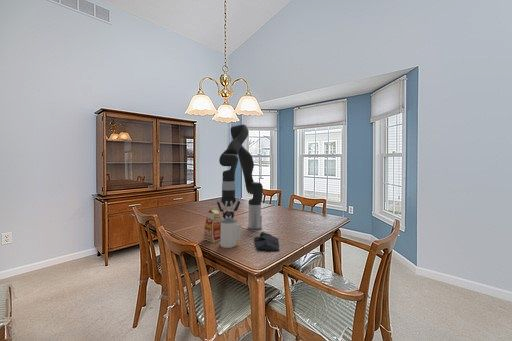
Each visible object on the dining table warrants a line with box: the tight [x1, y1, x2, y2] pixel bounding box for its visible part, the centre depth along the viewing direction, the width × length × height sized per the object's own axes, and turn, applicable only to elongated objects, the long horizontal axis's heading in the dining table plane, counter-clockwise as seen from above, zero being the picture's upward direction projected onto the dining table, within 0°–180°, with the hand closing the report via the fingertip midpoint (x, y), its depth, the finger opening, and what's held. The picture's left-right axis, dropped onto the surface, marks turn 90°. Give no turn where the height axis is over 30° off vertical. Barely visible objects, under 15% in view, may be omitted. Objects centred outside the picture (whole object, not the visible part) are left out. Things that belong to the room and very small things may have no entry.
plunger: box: [225, 209, 232, 220], centre depth 139 cm, size 4×4×16 cm
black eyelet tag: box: [253, 231, 280, 252], centre depth 142 cm, size 15×22×5 cm
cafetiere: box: [219, 216, 242, 249], centre depth 139 cm, size 12×9×15 cm
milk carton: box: [202, 207, 221, 243], centre depth 149 cm, size 9×9×20 cm
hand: (228, 218), depth 139 cm, fingers closed on plunger, 3 cm apart
